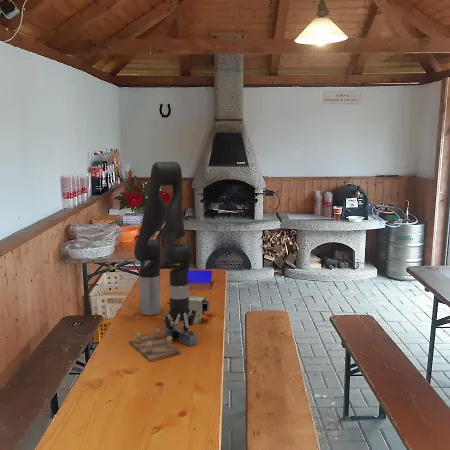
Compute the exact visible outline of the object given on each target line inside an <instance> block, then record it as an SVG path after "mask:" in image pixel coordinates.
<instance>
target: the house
mask: <svg viewBox="0 0 450 450" xmlns="http://www.w3.org/2000/svg"><path fill="white" fill-rule="evenodd" d="M212 273H213V272H212V270H207V269H206V270H201V269H200V270H198V269H197V270H193V269H192V270H191V269H189V272H188V287H189V291H190V290H194V291H197V290H198V291H200V290H202V291H203V290H207V291H209V290H211V287H212V277H213V275H212Z"/></svg>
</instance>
